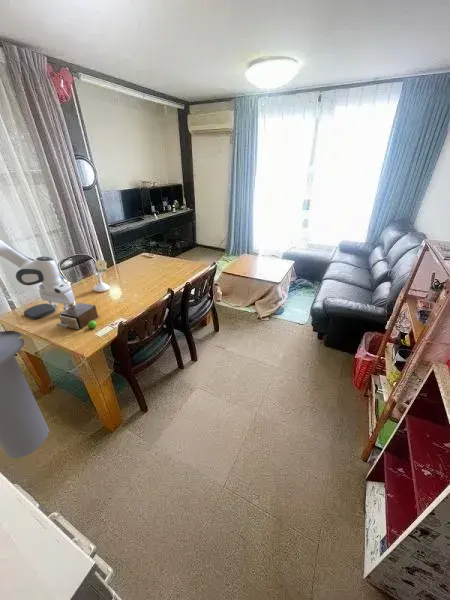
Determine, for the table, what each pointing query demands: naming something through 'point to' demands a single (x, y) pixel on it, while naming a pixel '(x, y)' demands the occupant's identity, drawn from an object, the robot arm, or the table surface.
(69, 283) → the water bottle
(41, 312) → the media streaming box
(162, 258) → the table surface
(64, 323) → the drawer
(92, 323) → the lime
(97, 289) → the flower in vase
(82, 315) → the cabinet
